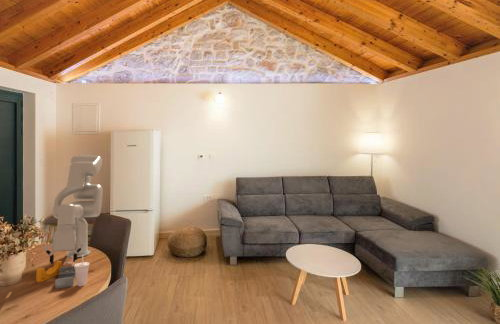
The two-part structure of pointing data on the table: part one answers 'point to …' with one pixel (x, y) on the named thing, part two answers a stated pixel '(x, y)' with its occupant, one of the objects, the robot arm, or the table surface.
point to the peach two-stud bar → (69, 262)
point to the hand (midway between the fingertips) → (63, 262)
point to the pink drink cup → (81, 272)
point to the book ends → (65, 277)
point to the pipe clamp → (48, 272)
